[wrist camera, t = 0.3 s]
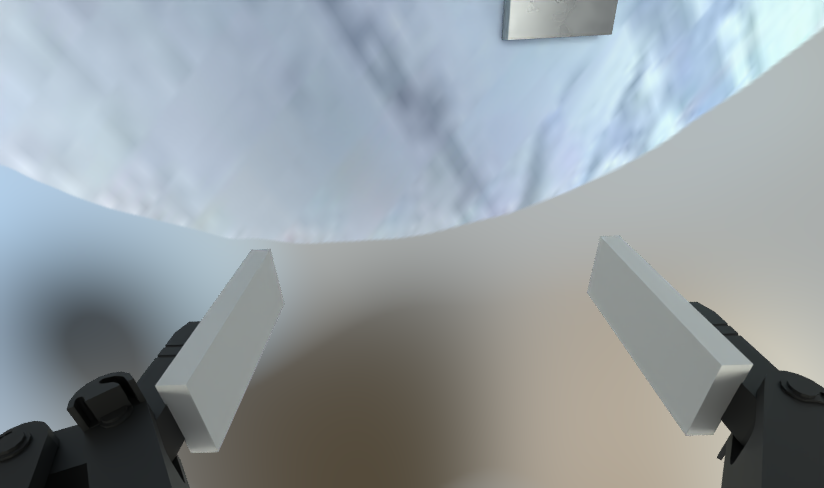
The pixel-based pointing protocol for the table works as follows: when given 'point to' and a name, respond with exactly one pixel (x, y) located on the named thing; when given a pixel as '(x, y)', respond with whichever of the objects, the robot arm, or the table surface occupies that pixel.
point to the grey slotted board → (557, 18)
